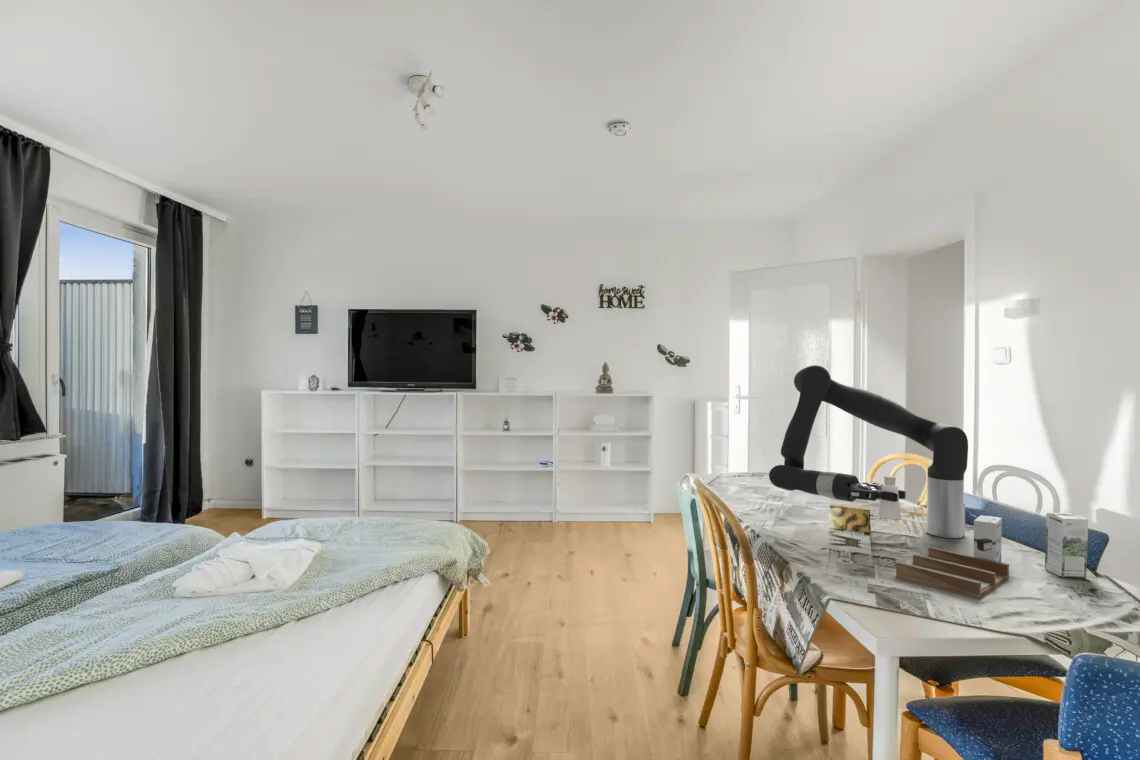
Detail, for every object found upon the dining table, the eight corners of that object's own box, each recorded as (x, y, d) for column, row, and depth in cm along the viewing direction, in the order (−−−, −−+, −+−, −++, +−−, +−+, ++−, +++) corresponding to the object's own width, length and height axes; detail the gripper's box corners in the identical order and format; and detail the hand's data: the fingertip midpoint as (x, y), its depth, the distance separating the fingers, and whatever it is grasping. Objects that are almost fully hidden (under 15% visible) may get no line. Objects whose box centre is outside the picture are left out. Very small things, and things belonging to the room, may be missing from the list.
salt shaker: (893, 514, 156) (893, 473, 156) (906, 519, 151) (906, 477, 151) (874, 514, 156) (874, 474, 156) (885, 520, 151) (885, 478, 150)
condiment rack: (930, 560, 151) (930, 546, 151) (1008, 578, 137) (1008, 564, 137) (896, 576, 139) (896, 562, 139) (978, 599, 125) (978, 583, 125)
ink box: (979, 558, 152) (979, 514, 152) (1002, 562, 149) (1002, 517, 149) (972, 565, 146) (972, 519, 146) (995, 570, 143) (996, 523, 143)
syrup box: (1068, 570, 143) (1069, 512, 143) (1087, 578, 137) (1088, 518, 137) (1044, 569, 144) (1044, 511, 143) (1061, 578, 138) (1062, 517, 137)
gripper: (824, 476, 160) (889, 485, 147) (849, 470, 169) (913, 478, 155) (824, 503, 160) (889, 515, 147) (849, 495, 169) (912, 506, 155)
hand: (900, 496), depth 151 cm, fingers closed on salt shaker, 4 cm apart
